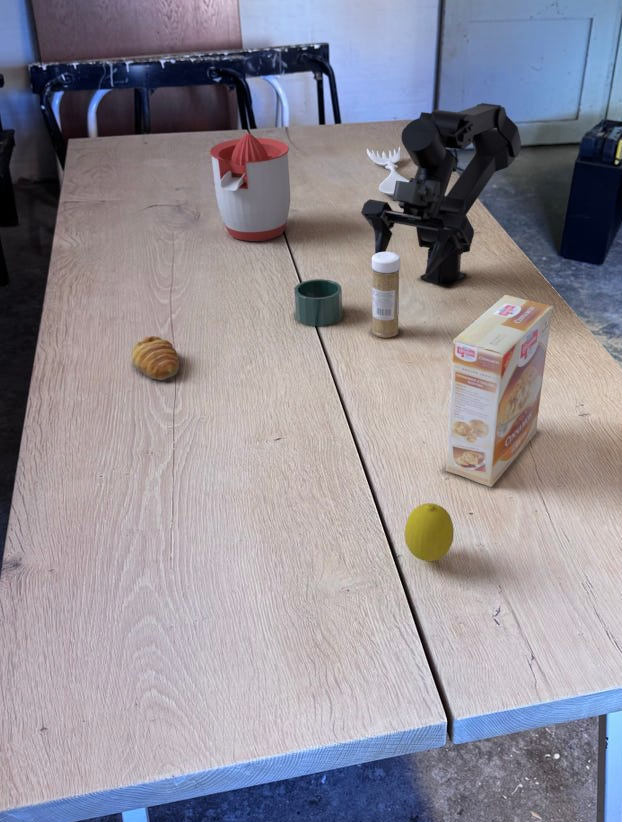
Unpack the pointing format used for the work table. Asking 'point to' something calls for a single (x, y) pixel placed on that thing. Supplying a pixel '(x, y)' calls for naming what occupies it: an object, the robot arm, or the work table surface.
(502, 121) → the robot arm
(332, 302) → the cup
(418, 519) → the lemon
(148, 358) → the pastry
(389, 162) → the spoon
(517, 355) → the coffeecake box
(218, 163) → the citrus juicer
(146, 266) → the work table surface
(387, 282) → the sprinkles bottle
